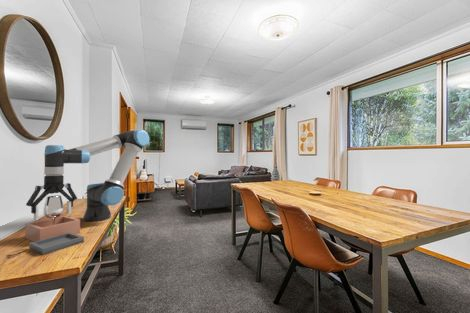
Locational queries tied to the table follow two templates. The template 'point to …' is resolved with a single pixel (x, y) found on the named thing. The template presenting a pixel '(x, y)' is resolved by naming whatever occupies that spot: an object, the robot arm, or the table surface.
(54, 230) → the holder
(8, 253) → the table surface
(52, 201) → the wineglass
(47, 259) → the table surface
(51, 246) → the tray
